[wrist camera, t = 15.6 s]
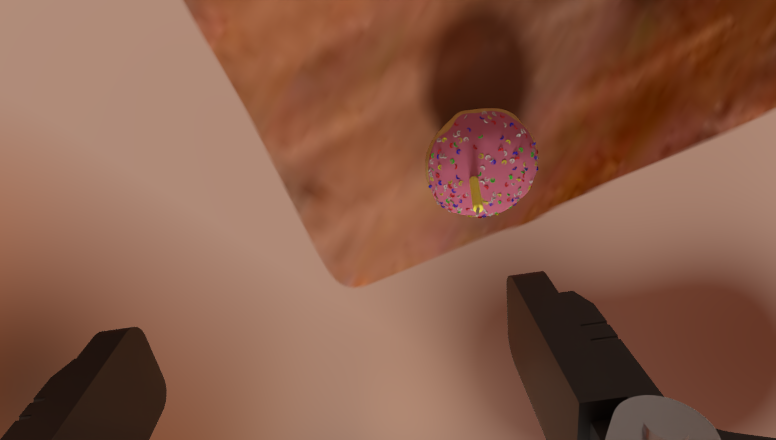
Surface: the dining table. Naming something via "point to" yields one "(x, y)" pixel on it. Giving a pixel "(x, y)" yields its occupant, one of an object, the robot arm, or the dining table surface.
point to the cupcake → (481, 162)
